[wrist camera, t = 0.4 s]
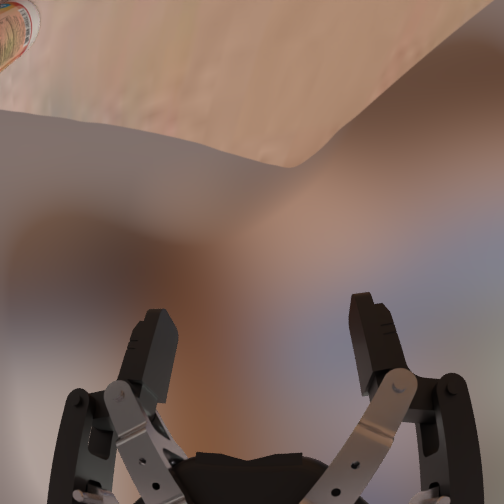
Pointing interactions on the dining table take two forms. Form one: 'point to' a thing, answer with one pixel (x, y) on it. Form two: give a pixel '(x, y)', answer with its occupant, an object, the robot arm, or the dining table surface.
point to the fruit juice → (17, 29)
